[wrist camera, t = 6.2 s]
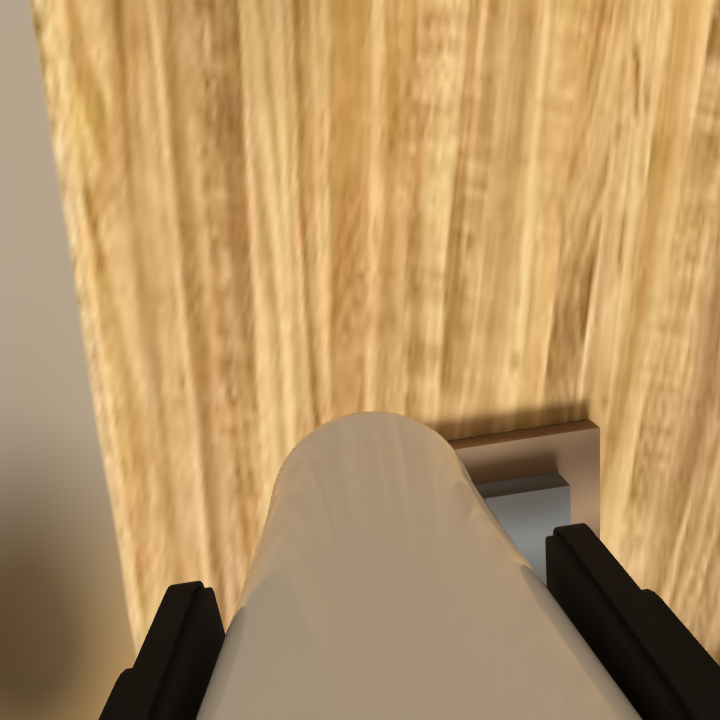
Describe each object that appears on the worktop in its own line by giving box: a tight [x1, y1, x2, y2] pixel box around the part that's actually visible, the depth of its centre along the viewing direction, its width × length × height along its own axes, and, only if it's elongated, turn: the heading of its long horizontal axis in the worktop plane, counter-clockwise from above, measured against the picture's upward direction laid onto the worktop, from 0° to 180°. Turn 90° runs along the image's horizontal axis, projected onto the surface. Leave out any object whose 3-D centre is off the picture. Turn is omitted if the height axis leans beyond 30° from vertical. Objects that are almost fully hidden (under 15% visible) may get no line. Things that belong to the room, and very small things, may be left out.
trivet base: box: [447, 420, 600, 587], centre depth 31 cm, size 16×16×3 cm
